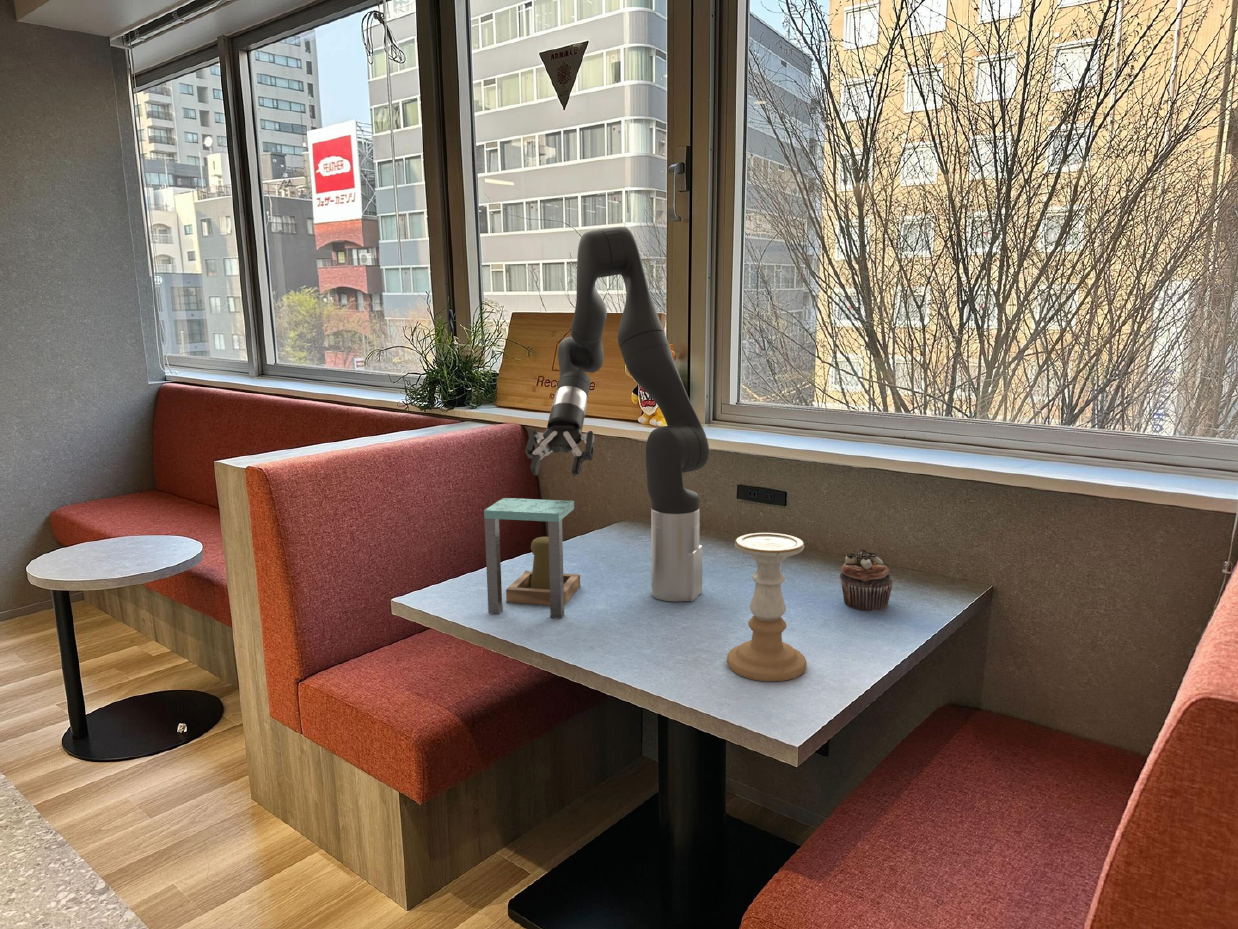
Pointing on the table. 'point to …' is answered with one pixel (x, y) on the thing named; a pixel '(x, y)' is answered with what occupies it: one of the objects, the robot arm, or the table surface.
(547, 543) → the cork
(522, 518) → the mint green stool
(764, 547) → the candle holder
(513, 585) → the socket
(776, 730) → the table surface
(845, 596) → the cupcake
